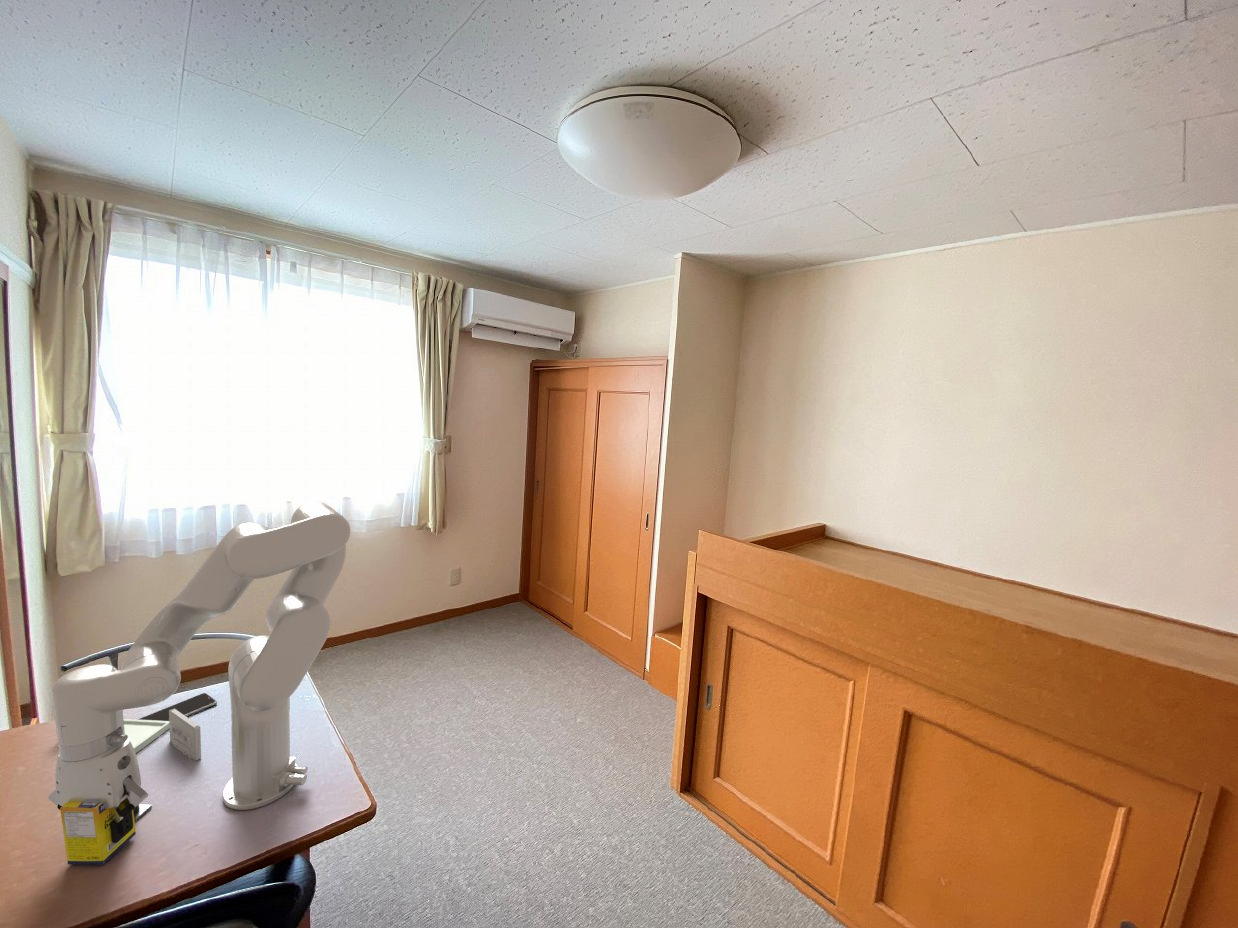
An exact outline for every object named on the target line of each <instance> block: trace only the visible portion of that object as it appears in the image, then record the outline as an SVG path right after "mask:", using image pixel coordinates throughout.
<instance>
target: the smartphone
mask: <svg viewBox="0 0 1238 928" xmlns="http://www.w3.org/2000/svg"><path fill="white" fill-rule="evenodd" d="M217 704H218V702H217V700H215V698H213V697H212V696H210V695H209V694H207V693H206V692H202V693H199V694H197V695H195V696H192V697H190V698H188V699H186V700H182V701H180V702H177V703H175V704H173V705H170V706H168V707H165V708H163V709H160V710H157V711H155V712H153V713H150V714H148V715H145V716H143V717H140V718H137V720H156V721H169V710H171V709H176V710H177V711H179V712H180V713H182V714H183V715H184V716H186V717H187V718H189V717H191V716H194V715H196V714H198V713H200V712H203V711H205V710H208V709H210V708H212V707H214V706H217Z"/></svg>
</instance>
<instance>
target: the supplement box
mask: <svg viewBox="0 0 1238 928" xmlns="http://www.w3.org/2000/svg"><path fill="white" fill-rule="evenodd" d="M118 807H119V809H120V811H121V810H122V809H123V808H124V807H125V806H124V804H123V802H121V803H120V804H119V805H118ZM59 811H60V816H61V823H62V831H63V839H64V847H65V852H66V859H67V865H105V864H106V863H107V862H108V861H109V860H111V858H113V856H115V854H116V853H118V852H119V851H120V850H121V848H123V847H124V846H125V845H126V844H127V843H128V842H129V841H130V840H131V839H132V838H134V836H135V835H136V824H135V823H136V822H134V813H133V810H132V817H133V828H132V830H131V831H130V832H128V833H127V834H126V835H125V836H124V837H123V838H122V839H121V840H120V841H119V842H117V843H112V838H111V829H110V823H111V822H112V821H113V818H112V816H111V815H110V813H109V808H108V809H105V808H104V805H103V803H77V802H67V803H65V804H64V805H63V806H62V807H61V808H60V810H59Z"/></svg>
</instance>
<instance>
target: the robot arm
mask: <svg viewBox="0 0 1238 928" xmlns="http://www.w3.org/2000/svg"><path fill="white" fill-rule="evenodd" d="M350 537H351V527H350V524H349V522H348V520H347V519H346V517H344V516H343V515H342V514H341V513H339V512H337V511H336V509H334V508H332V507H331V506H329V505H328V504H326V503H324V502H319V501H309V502H305V503H303V504H301V505H299V507H297V508H296V510H294V512H293V514H292V516H291V519H290V524H287V525H283V526H280V527H277V528H272V529H270V528H269V527H267V526H266V525H263V524H261V523H256V522H245V523H240V524H238V525H236V526H234V527H232V528H231V529H230V530H229V531H227V533H226V534H225V535H224V536H223V537H222V539H221V540H220V541H219V543H218V544H217V545H216V546H215V548H214V549H213V550H212V551H211V552H210V554H209V555H208V556H207V558H206V559H205V560H204V562H203V563H202V565H201V566H200V567H199V568H198V570H197V571H196V572H195V574H194V575H193V576H192V577H191V579H190V580H189V581H188V582H187V584H186V585H185V586H184V588H182V590H181V591H180V592H179V593H178V594H177V595H176V596H174V597H173V598H172V600H170V602H169V603H168V604H166V605H165V606H164V607H162V609H161V610H160V611H158V613H157V614H156V615H155V617H153V618H152V620H151V621H150V622H149V623H148V624H147V626H146V627H145V628H144V629H143V631H142V632H141V633H140V635H139V636H138V637H137V638H136V640H135V642H134V643H133V644H132V645H131V647H130V648H129V649H128V650H127V652H126V654H125V656H124V657H123V660H122V663H121V669H118V668H117V667H115V666H114V665H112V664H107V663H106V664H105V663H104V664H103V663H100V664H92V665H88V666H83V667H80V668H77V669H74V670H72V671H69V672H67V673H66V674H63V675H62V676H61V677H59V678H58V679H57V680H56V681H55V682H54V684H53V686H52V688H51V689H52V690H51V696H52V697H51V698H52V704H53V705H52V706H53V712H54V714H53V715H54V720H55V721H54V722H55V728H56V729H55V730H56V739H57V745H58V746H57V747H58V756H57V758H56V765H55V779H54V780H55V781H54V782H55V789H54V791H52V792H51V794H49V795H48V799H49V801H50V802H52V803H53V804H54V805H56V806H57V810H59V811H60V808H61V807H62V806H63V805H64V804H65V803H67V802H77V803H103V805H104V808H105V809H108V808H109V813H110V815H111V816H112V818H113V821H112V822H111V823H110V829H111V838H112V843H117V842H119V841H120V840H121V839H122V838H123V837H124V836H125V835H126V834H127V833H128V832H130V831H131V830H132V828H133V817H132V810H133V809H134V808H135V807H137V806H138V805H139V804H142V802H143V801H144V800H145V799H146V798H148V796H149V793H148V792H146V790H145V789H143V788H142V777H141V770H140V766H139V761H138V758H137V753H136V754H135V750H134V748H133V746H132V744H131V742H130V740H129V739H128V735H125V731H124V721H123V719H124V712H123V710H130V709H131V710H132V709H138V708H144V707H150V706H153V705H157V704H159V703H161V702H162V703H163V702H164V701H165V700H168V699H169V698H170V697H171V696H173V695H174V694H175V692H176V691H177V690H178V689H179V687H180V684H181V679H182V676H181V669H180V662H179V657H180V655H181V654H182V652H183V650H184V649H185V648H186V647H187V645H188V644H189V643H190V642H191V640H192V639H193V637H194V636H195V635H196V633H198V631H200V629H201V628H203V626H204V625H205V624H206V623H208V622H209V621H210V620H212V619H215V618H217V617H222V616H225V615H227V614H229V613H230V612H231V611H232V610H233V609H234V608H235V606H236V605H237V604H238V602H239V600H241V598H242V597H243V595H244V594H245V592H247V590H248V588H250V586H251V584H252V583H253V581H255V580H260V579H264V578H269V577H272V576H275V575H279V574H282V573H284V572H287V571H290V570H291V571H290V572H289V574H288V575H287V577H286V579H285V581H284V582H283V583H282V585H281V587H280V588H279V589H278V591H277V593H276V594H275V596H274V597H273V598H272V600H271V601H270V603H269V605H268V606H267V609H266V611H265V614H264V619H265V625H266V627H267V628H268V630H269V633H270V635H261V634H260V635H256V636H252V637H250V638H248V639H246V640H244V641H243V642H242V643H241V644H239V645H238V646H237V647H236V648H235V650H234V651H233V653H232V654H231V657H230V660H229V662H228V668H227V669H228V670H227V671H228V672H227V674H228V685H229V695H230V711H231V714H230V717H231V720H230V721H231V727H230V728H231V731H230V732H231V762H232V763H231V766H232V767H231V768H232V769H231V770H232V777H231V779H230V780H229V781H228V782H227V783H226V785H225V787H224V789H223V792H222V800H223V803H224V805H225V806H226V807H228V808H230V809H232V810H240V811H241V810H242V811H244V810H245V811H247V810H253V809H257V808H261V807H264V806H267V805H269V804H271V803H273V802H275V801H277V800H279V799H280V798H281V797H283V796H285V795H286V794H288V792H289V791H290V790H291V789H293V787H294V786H300V787H301V786H304V785H305V784H306V783H307V782H306V781H307V779H308V778H307V777H308V776H307V773H308V766H298V765H297V764H296V757H295V756H291V753H290V752H291V751H290V750H291V744H290V743H291V741H290V739H291V738H290V737H291V736H290V735H291V734H290V733H291V732H290V731H291V730H290V725H291V724H290V723H291V722H290V721H291V720H290V719H291V718H290V708H291V707H290V706H291V704H290V703H291V701H290V700H291V698H290V697H291V696H292V695H293V694H294V693H295V692H296V690H297V689H298V687H299V686H300V684H301V683H302V681H303V679H304V678H305V676H306V675H307V673H308V672H309V670H310V668H311V666H312V665H313V663H314V661H316V658H317V656H318V655H319V653H320V651H321V649H323V646H324V644H326V643H325V642H326V641H327V639H328V636H329V633H330V629H331V617H330V613H329V612H328V609H326V607H325V602H326V600H327V598H328V597H329V594H331V591H332V589H333V587H335V586H334V585H335V584H336V582H337V580H338V579H339V577H340V574H341V572H342V571H343V567H344V564H345V560H346V553H347V547H346V546H347V545H346V544H347V543H348V541H349V539H350ZM121 802H123V804H124V806H125V807H124V808H123V809H122V810H121V811H120V809H119V807H118V805H119V804H120V803H121Z"/></svg>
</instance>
